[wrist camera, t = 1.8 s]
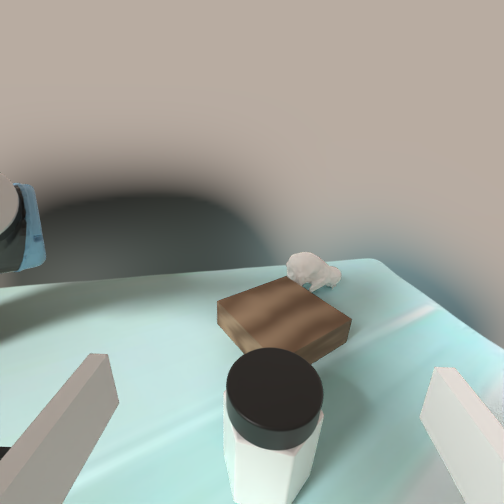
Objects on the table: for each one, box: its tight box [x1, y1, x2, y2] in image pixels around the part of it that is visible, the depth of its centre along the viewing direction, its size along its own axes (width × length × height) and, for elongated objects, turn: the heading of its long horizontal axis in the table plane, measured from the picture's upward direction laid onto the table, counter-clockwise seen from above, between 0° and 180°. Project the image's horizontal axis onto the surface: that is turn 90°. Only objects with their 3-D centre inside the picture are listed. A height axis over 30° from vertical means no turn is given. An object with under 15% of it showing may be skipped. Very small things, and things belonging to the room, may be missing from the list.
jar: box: [223, 347, 324, 504], centre depth 26 cm, size 9×8×12 cm
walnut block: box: [217, 276, 352, 364], centre depth 46 cm, size 15×15×5 cm
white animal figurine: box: [286, 252, 341, 292], centre depth 57 cm, size 6×8×12 cm
